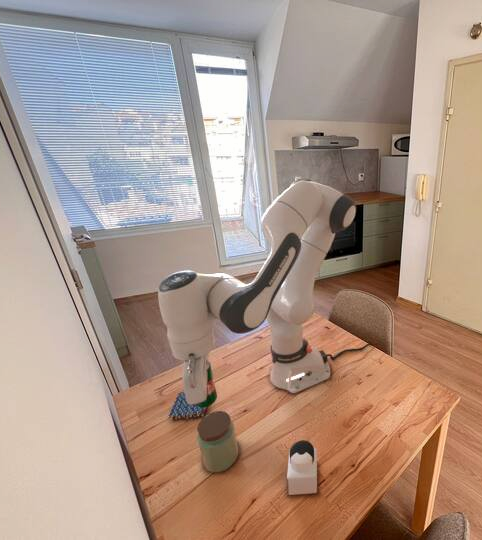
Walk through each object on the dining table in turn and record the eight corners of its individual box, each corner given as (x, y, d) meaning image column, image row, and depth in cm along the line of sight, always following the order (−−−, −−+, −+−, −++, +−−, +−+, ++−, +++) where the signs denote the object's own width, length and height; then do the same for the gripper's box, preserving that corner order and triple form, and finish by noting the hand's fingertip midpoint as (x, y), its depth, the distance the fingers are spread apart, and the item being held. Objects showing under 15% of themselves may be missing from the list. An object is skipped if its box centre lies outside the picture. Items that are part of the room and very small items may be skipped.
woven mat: (204, 417, 93) (203, 412, 92) (168, 421, 91) (167, 416, 90) (212, 391, 102) (211, 387, 101) (180, 394, 101) (179, 390, 100)
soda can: (209, 410, 71) (200, 373, 66) (191, 406, 72) (180, 369, 67) (221, 394, 75) (214, 358, 70) (204, 390, 76) (195, 354, 71)
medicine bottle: (290, 466, 80) (288, 437, 75) (316, 464, 80) (316, 435, 75) (288, 495, 73) (285, 465, 68) (316, 493, 74) (316, 463, 69)
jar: (237, 436, 87) (231, 405, 82) (239, 465, 80) (232, 433, 74) (204, 446, 84) (196, 414, 79) (203, 477, 77) (193, 444, 71)
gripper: (206, 369, 58) (217, 418, 64) (209, 315, 75) (217, 357, 81) (170, 377, 56) (184, 427, 62) (182, 319, 73) (192, 362, 79)
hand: (203, 386), depth 71 cm, fingers closed on soda can, 5 cm apart
